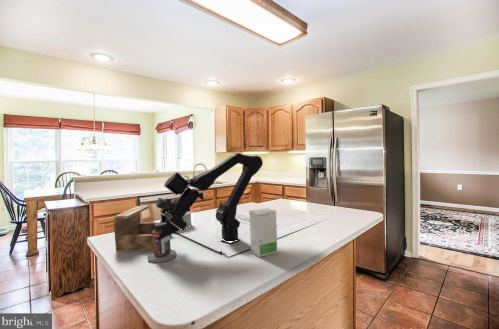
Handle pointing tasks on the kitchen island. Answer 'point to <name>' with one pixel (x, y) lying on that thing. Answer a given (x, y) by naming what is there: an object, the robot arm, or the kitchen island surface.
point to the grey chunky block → (187, 218)
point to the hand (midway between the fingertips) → (157, 236)
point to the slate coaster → (161, 257)
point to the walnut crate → (133, 231)
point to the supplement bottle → (160, 241)
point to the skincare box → (263, 232)
